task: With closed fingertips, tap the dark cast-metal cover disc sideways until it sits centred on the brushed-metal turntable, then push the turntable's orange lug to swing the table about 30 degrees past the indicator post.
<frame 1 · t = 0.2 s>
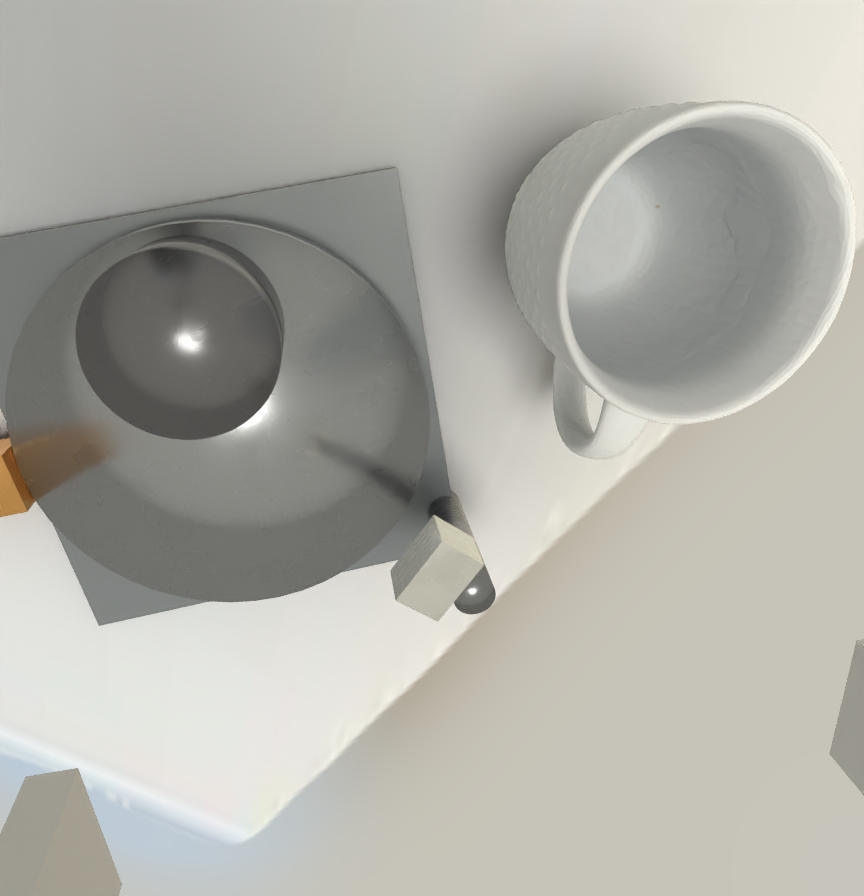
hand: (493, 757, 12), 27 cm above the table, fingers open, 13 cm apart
turntable: (168, 443, 35), point 2 cm above the table, hinge at 0.0°, touching cover
indicator post: (442, 505, 41), resting on base plate
base plate: (234, 414, 37), on the table
cover: (195, 325, 32), point 3 cm above the table, touching turntable
mug: (574, 251, 36), on the table
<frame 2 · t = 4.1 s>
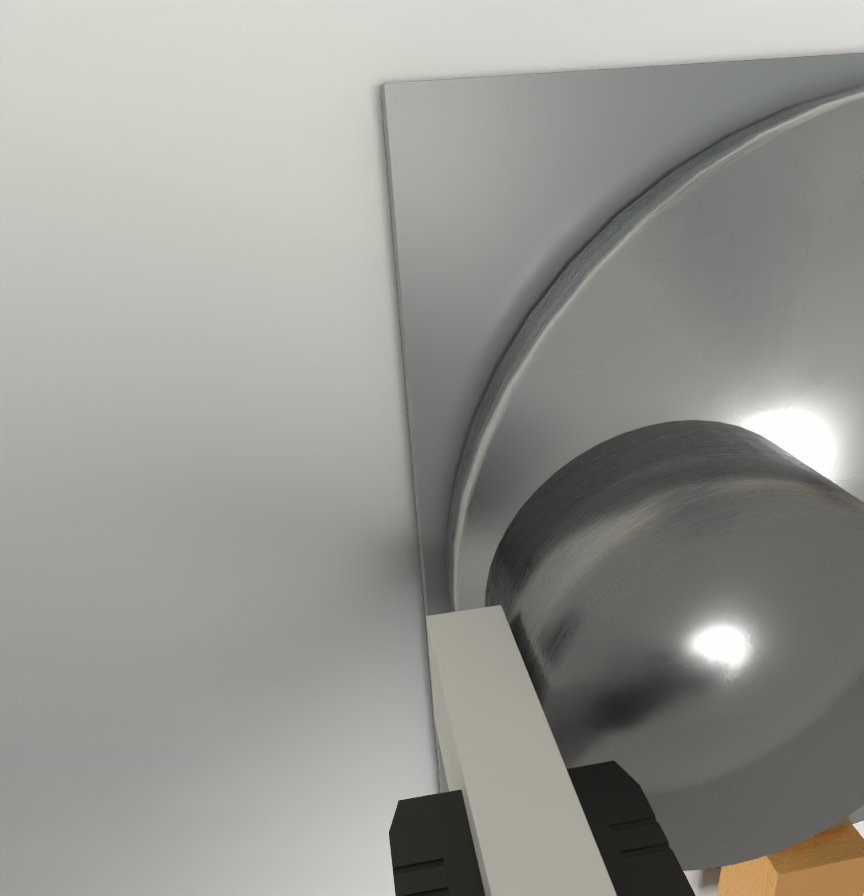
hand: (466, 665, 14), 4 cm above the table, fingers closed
turntable: (842, 641, 18), point 2 cm above the table, hinge at 0.0°
base plate: (804, 498, 19), on the table
cover: (656, 583, 16), point 3 cm above the table, touching gripper
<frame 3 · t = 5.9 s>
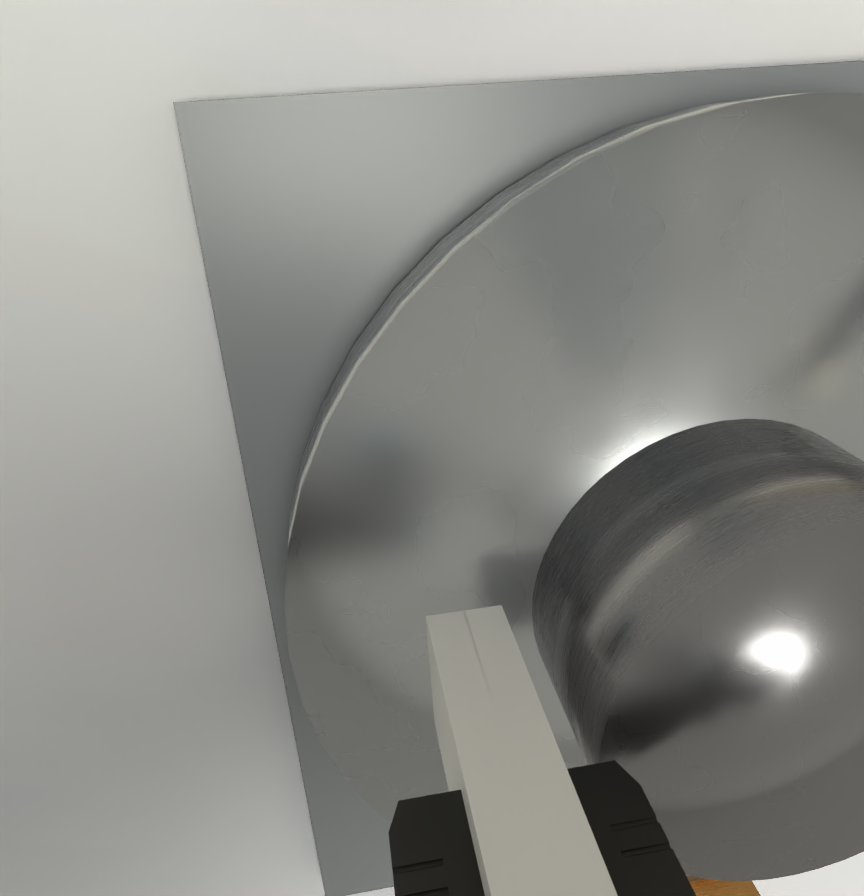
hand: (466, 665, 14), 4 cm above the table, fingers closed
turntable: (717, 683, 17), point 2 cm above the table, hinge at 0.0°, touching cover
base plate: (684, 531, 18), on the table
cover: (706, 586, 16), point 3 cm above the table, touching turntable
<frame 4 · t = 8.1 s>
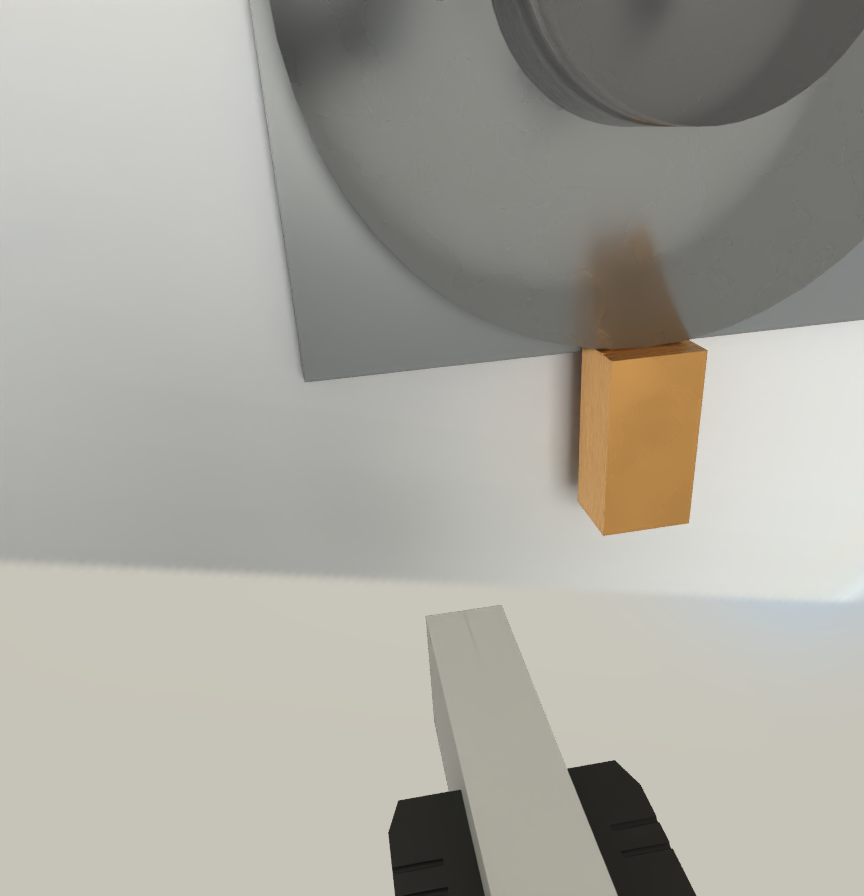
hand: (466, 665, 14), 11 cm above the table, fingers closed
turntable: (659, 93, 19), point 2 cm above the table, hinge at 0.0°, touching cover
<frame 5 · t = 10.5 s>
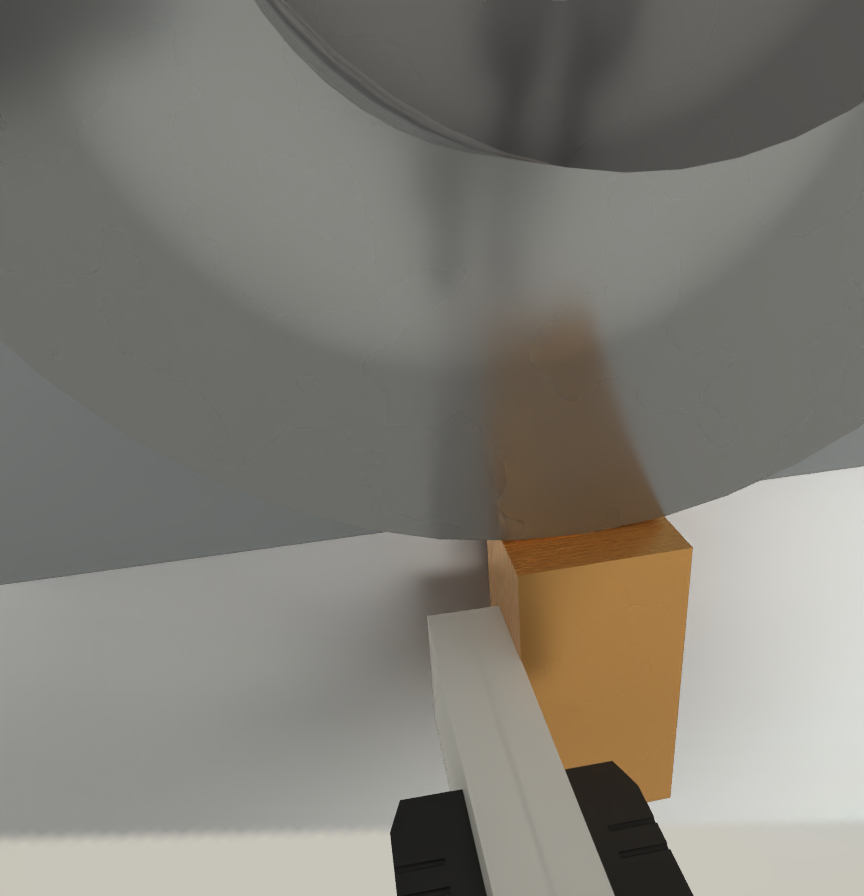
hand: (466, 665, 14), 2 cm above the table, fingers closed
turntable: (585, 89, 10), point 2 cm above the table, hinge at 0.9°, touching cover, gripper
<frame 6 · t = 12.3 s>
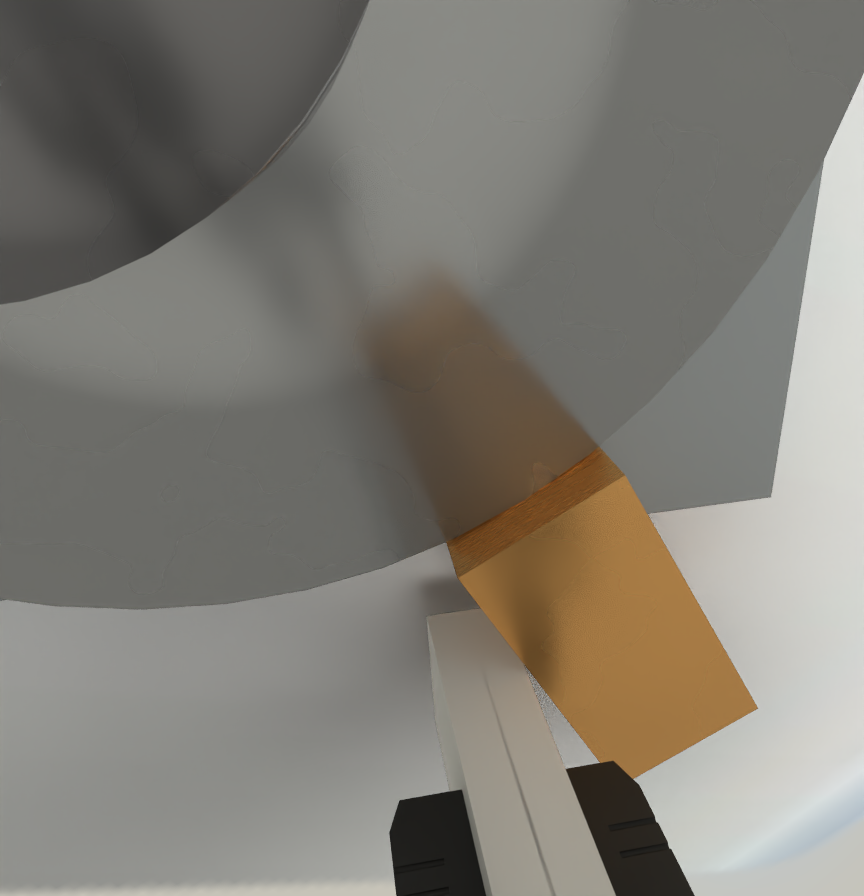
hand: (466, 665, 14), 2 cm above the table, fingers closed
turntable: (257, 97, 9), point 2 cm above the table, hinge at 28.6°, touching cover, gripper
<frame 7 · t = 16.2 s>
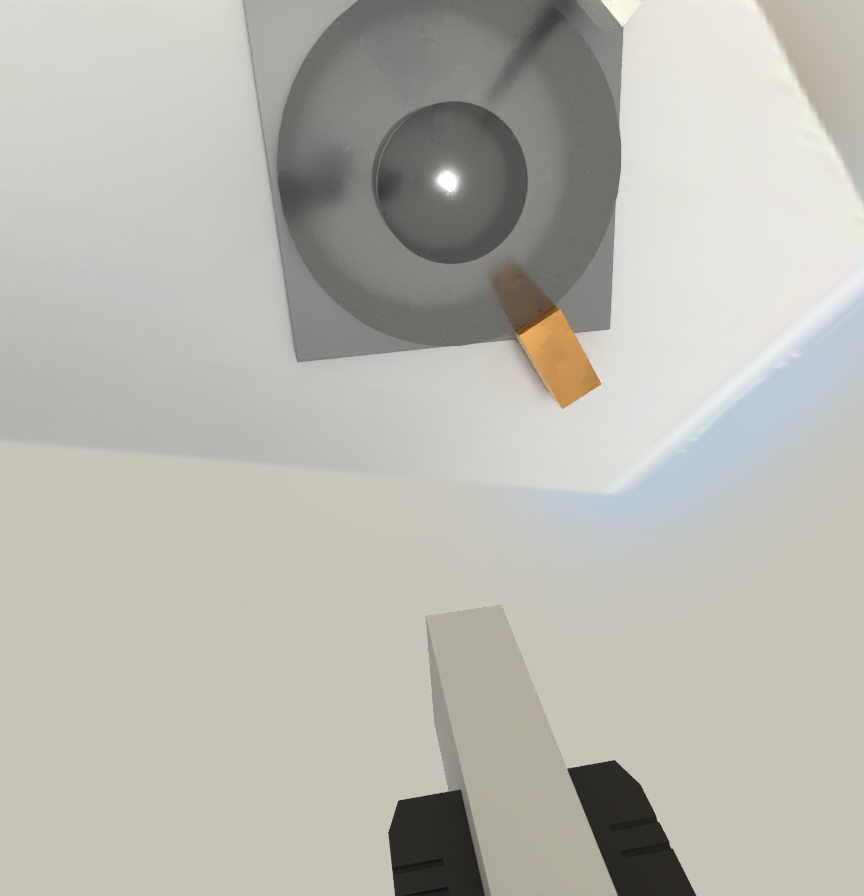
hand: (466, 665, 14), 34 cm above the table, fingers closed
turntable: (479, 222, 42), point 2 cm above the table, hinge at 28.6°, touching cover
base plate: (447, 174, 43), on the table
cover: (441, 181, 41), point 3 cm above the table, touching turntable
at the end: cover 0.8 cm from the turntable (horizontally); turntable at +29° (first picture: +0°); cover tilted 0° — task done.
